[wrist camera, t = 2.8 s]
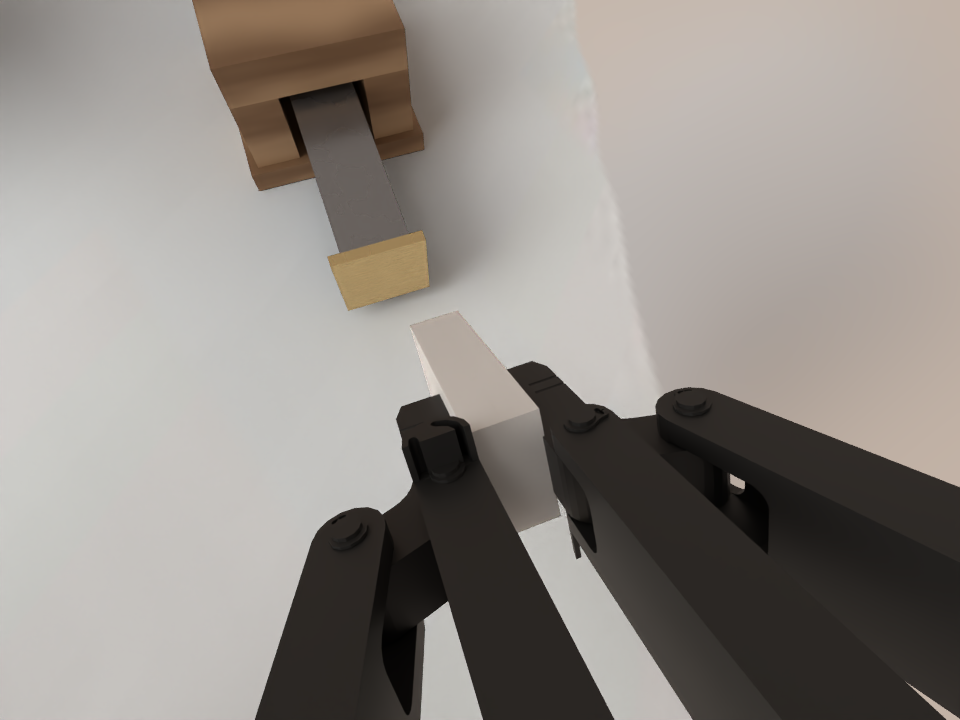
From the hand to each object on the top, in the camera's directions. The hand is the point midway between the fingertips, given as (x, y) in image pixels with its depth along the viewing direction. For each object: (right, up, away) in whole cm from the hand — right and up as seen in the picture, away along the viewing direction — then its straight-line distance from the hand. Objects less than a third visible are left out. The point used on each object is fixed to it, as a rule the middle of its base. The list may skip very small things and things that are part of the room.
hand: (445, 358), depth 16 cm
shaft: (-8, +13, +18) cm, 23 cm away
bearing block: (-10, +18, +21) cm, 29 cm away
